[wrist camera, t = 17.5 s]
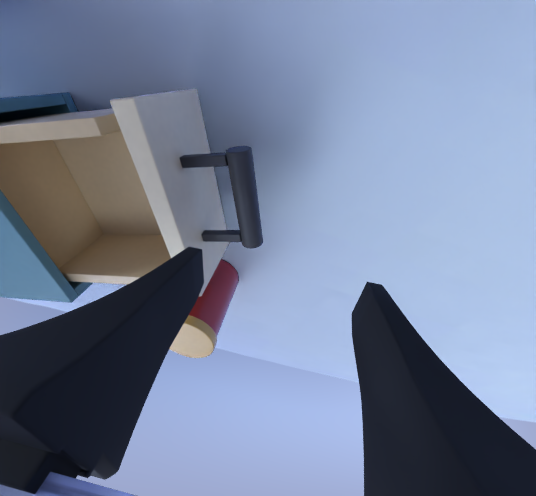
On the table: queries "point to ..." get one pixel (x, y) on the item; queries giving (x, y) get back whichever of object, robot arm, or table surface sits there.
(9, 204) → the cabinet
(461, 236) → the table surface
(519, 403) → the table surface
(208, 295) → the tea tin
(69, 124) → the drawer
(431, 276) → the table surface
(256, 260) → the table surface
